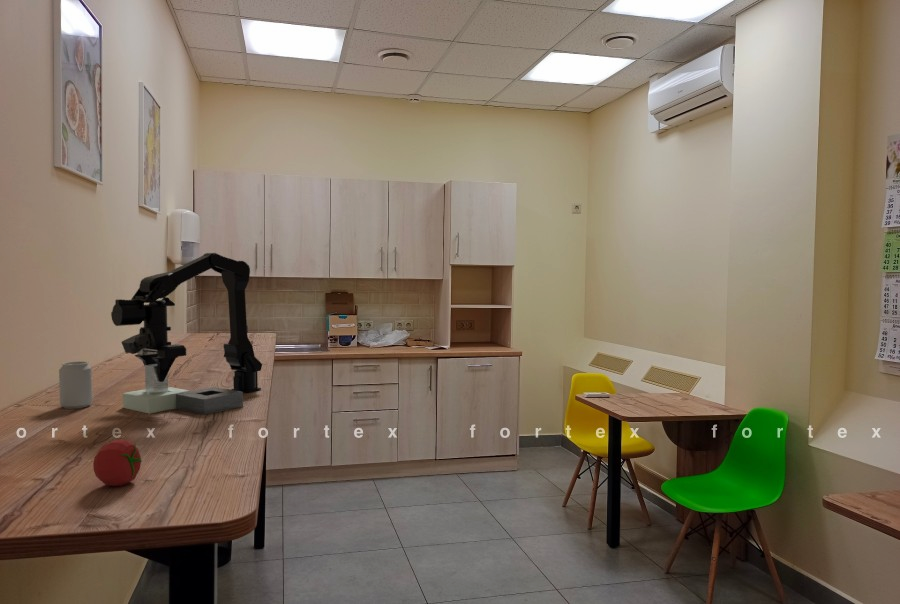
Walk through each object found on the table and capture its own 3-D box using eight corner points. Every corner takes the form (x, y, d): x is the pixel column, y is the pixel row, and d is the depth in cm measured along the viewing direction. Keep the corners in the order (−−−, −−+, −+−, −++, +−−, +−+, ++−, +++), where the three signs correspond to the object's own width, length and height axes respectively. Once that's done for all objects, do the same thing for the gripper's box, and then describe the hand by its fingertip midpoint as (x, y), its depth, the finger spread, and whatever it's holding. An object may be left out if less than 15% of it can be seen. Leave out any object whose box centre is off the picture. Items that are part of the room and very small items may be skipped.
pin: (159, 399, 171) (158, 363, 170) (168, 401, 168) (167, 364, 168) (145, 401, 167) (145, 365, 167) (154, 403, 165) (153, 366, 165)
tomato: (90, 435, 107) (133, 428, 107) (116, 452, 113) (156, 445, 113) (80, 480, 102) (124, 473, 102) (107, 495, 109) (149, 488, 108)
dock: (164, 399, 176) (164, 386, 176) (190, 405, 170) (190, 390, 170) (123, 407, 166) (122, 393, 166) (149, 413, 160) (148, 398, 159)
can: (98, 403, 171) (97, 360, 170) (79, 410, 163) (78, 364, 163) (73, 403, 172) (72, 360, 171) (53, 409, 164) (52, 364, 164)
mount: (214, 401, 175) (214, 387, 175) (242, 406, 169) (242, 391, 168) (176, 409, 165) (175, 394, 165) (204, 414, 159) (204, 399, 158)
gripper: (106, 323, 165) (108, 381, 166) (147, 327, 155) (148, 389, 156) (146, 320, 174) (147, 375, 175) (187, 324, 164) (188, 382, 165)
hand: (156, 380), depth 168 cm, fingers open, 4 cm apart
